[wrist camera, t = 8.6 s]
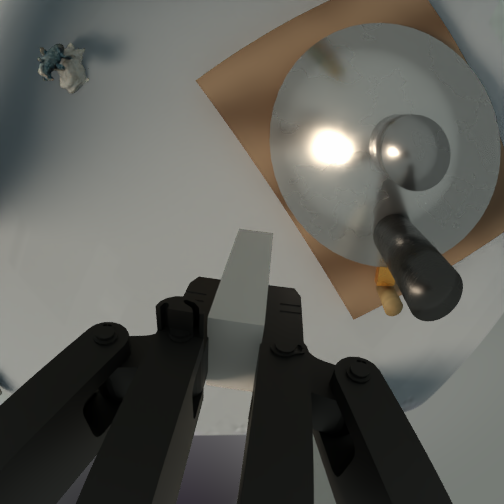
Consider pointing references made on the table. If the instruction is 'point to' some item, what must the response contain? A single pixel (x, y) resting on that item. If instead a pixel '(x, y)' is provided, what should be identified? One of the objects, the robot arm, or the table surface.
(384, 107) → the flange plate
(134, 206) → the table surface
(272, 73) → the walnut board
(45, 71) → the sculpture
